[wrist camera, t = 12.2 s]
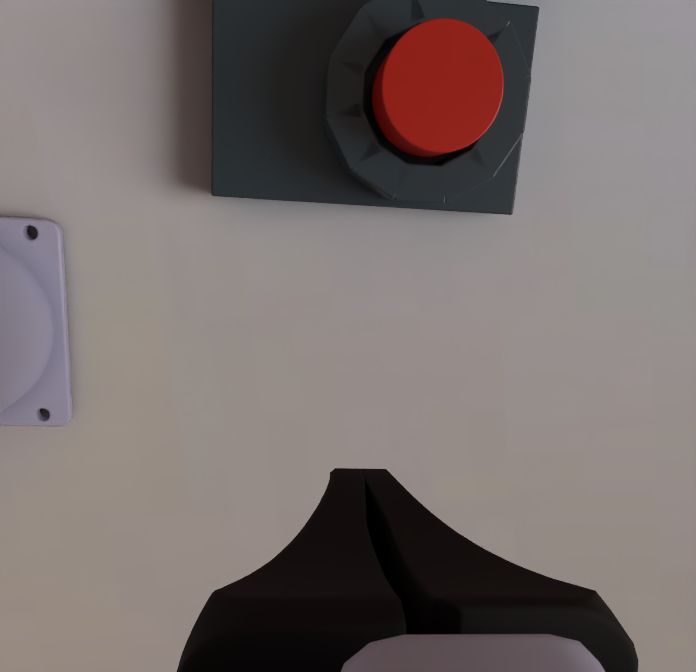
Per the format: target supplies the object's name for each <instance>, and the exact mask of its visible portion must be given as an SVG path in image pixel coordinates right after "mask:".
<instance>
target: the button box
mask: <svg viewBox="0 0 696 672" xmlns="http://www.w3.org/2000/svg"><path fill="white" fill-rule="evenodd" d="M538 13H539V7H536V6H527V5H517V4H508V3H498V2H489V1H486V0H212V186H211V194H212V195H213V196H221V197H237V198H253V199H269V200H285V201H301V202H317V203H333V204H349V205H365V206H381V207H396V208H412V209H428V210H444V211H460V212H476V213H492V214H508V215H511V214H512V213H513V207H514V199H515V192H516V184H517V176H518V168H519V161H520V153H521V145H522V137H523V132H524V129H525V121H526V114H527V106H528V98H529V90H530V83H531V77H530V76H531V68H532V60H533V52H534V44H535V36H536V29H537V21H538ZM439 18H450V19H456V20H460V21H463V22H466V23H468V24H470V25H472V26H473V27H475V28H476V29H478V30H479V31H480V32H481V33H483V34H484V35H485V36H486V37H487V39H488V40H489V41H490V42H491V44H492V45H493V47H494V49H495V50H496V52H497V54H498V57H499V59H500V62H501V66H502V70H503V78H504V90H503V97H502V102H501V105H500V109H499V111H498V113H497V116H496V118H495V120H494V121H493V123H492V125H491V126H490V127H489V129H488V130H487V131H486V132H485V133H484V134H483V135H482V136H481V137H480V138H479V139H478V140H476V141H475V142H474V143H472V144H471V145H469V146H467V147H465V148H463V149H460V150H457V151H453V152H449V153H445V154H441V155H437V156H430V157H421V156H415V155H411V154H408V153H406V152H404V151H402V150H400V149H398V148H397V147H395V146H394V145H393V144H392V143H391V142H390V141H389V140H388V139H387V138H386V137H385V136H384V134H383V133H382V131H381V130H380V128H379V126H378V124H377V122H376V119H375V116H374V112H373V107H372V89H373V83H374V79H375V76H376V74H377V71H378V69H379V67H380V65H381V63H382V62H383V61H384V59H385V58H386V56H387V55H388V53H389V52H390V51H391V49H392V48H393V46H394V45H395V44H396V42H397V41H398V40H399V39H400V38H401V37H402V36H403V35H404V34H405V33H406V32H407V31H408V30H410V29H411V28H413V27H414V26H416V25H418V24H420V23H422V22H425V21H428V20H432V19H439Z"/></svg>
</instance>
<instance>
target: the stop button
mask: <svg viewBox="0 0 696 672" xmlns="http://www.w3.org/2000/svg"><path fill="white" fill-rule="evenodd" d="M503 90H504V78H503V70H502V66H501V62H500V59H499V57H498V54H497V52H496V50H495V49H494V47H493V45H492V44H491V42H490V41H489V40H488V39H487V37H486V36H485V35H484V34H483V33H481V32H480V31H479V30H478V29H476V28H475V27H473V26H472V25H470V24H468V23H466V22H463V21H460V20H456V19H450V18H439V19H432V20H428V21H425V22H422V23H420V24H418V25H416V26H414V27H413V28H411V29H410V30H408V31H407V32H406V33H405V34H404V35H403V36H402V37H401V38H400V39H399V40H398V41H397V42H396V44H395V45H394V46H393V48H392V49H391V51H390V52H389V53H388V55H387V56H386V58H385V59H384V61H383V62H382V63H381V65H380V67H379V69H378V71H377V74H376V76H375V79H374V83H373V89H372V107H373V112H374V116H375V119H376V122H377V124H378V126H379V128H380V130H381V131H382V133H383V134H384V136H385V137H386V138H387V139H388V140H389V141H390V142H391V143H392V144H393V145H394V146H395V147H397V148H398V149H400V150H402V151H404V152H406V153H408V154H411V155H415V156H421V157H430V156H437V155H441V154H445V153H449V152H453V151H457V150H460V149H463V148H465V147H467V146H469V145H471V144H472V143H474V142H475V141H476V140H478V139H479V138H480V137H481V136H482V135H483V134H484V133H485V132H486V131H487V130H488V129H489V127H490V126H491V125H492V123H493V121H494V120H495V118H496V116H497V113H498V111H499V109H500V105H501V102H502V97H503Z"/></svg>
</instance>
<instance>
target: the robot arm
mask: <svg viewBox="0 0 696 672" xmlns="http://www.w3.org/2000/svg"><path fill="white" fill-rule="evenodd" d="M30 225H31V226H34V227H35V228H36V229H37V232H38V235H37V238H35V239H33V238H31V237H30V236H29V235H28V233H27V230H28V227H29V226H30ZM41 408H43V409H46V410H48V411H49V413H50V417H44V416H43V415H42V414H41V413H40V409H41ZM72 415H73V404H72V386H71V368H70V350H69V332H68V314H67V297H66V279H65V261H64V243H63V232H62V228H61V227H60V225H59V224H58V223H57V222H55V221H54V220H50V219H40V218H23V217H5V216H0V425H6V426H63V425H65V424H66V423H67V422H68V421H69V420H70V419H71V417H72ZM177 672H638V658H637V654H636V651H635V647H634V644H633V642H632V640H631V639H630V638H629V636H628V635H627V633H626V632H625V630H624V629H623V627H622V626H621V624H620V623H619V621H618V620H617V618H616V617H615V616H614V614H613V613H612V611H611V610H610V609H609V607H608V606H607V605H606V603H605V602H604V601H603V600H602V598H601V597H600V596H599V595H598V594H597V592H596V591H594V590H591V589H587V588H584V587H580V586H577V585H573V584H570V583H566V582H563V581H559V580H556V579H552V578H549V577H546V576H544V575H541V574H539V573H536V572H533V571H531V570H528V569H525V568H523V567H521V566H518V565H516V564H514V563H511V562H509V561H507V560H505V559H503V558H501V557H499V556H497V555H495V554H493V553H491V552H489V551H487V550H485V549H483V548H482V547H480V546H478V545H476V544H475V543H473V542H471V541H470V540H468V539H467V538H465V537H464V536H462V535H460V534H459V533H457V532H456V531H454V530H453V529H452V528H450V527H449V526H447V525H446V524H445V523H444V522H442V521H441V520H440V519H438V518H437V517H436V516H435V515H433V514H432V513H431V512H430V511H429V510H428V509H426V508H425V507H424V506H423V505H422V504H421V503H420V502H418V501H417V500H416V499H415V498H414V497H413V496H412V495H411V494H410V493H409V492H408V491H407V490H406V489H405V488H404V487H403V486H402V485H401V484H400V483H399V482H398V481H397V480H396V479H395V478H394V477H393V476H392V475H391V474H390V473H389V472H388V471H387V470H386V469H343V468H335V469H334V470H333V471H332V472H330V480H329V483H328V486H327V489H326V491H325V493H324V495H323V497H322V499H321V501H320V503H319V505H318V506H317V508H316V510H315V511H314V513H313V514H312V516H311V517H310V519H309V520H308V522H307V523H306V525H305V526H304V527H303V528H302V530H301V531H300V532H299V533H298V535H297V536H296V537H295V538H294V539H293V540H292V541H291V542H290V544H289V545H288V546H286V547H285V548H284V549H283V550H282V551H281V552H280V553H279V554H278V555H277V556H276V557H275V558H273V559H272V560H271V561H270V562H268V563H267V564H265V565H264V566H262V567H261V568H259V569H258V570H256V571H254V572H253V573H251V574H249V575H248V576H246V577H244V578H242V579H240V580H238V581H236V582H233V583H231V584H229V585H227V586H225V587H223V588H220V589H218V590H215V591H214V592H213V593H212V594H211V596H210V597H209V599H208V601H207V602H206V604H205V606H204V608H203V610H202V611H201V613H200V615H199V617H198V619H197V621H196V623H195V625H194V627H193V629H192V631H191V634H190V636H189V638H188V640H187V642H186V645H185V647H184V650H183V653H182V656H181V659H180V662H179V666H178V669H177Z"/></svg>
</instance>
